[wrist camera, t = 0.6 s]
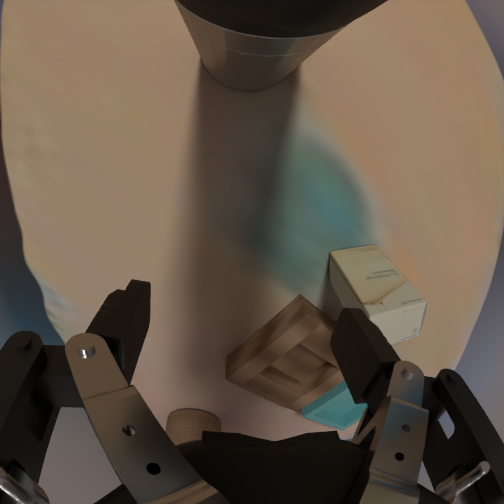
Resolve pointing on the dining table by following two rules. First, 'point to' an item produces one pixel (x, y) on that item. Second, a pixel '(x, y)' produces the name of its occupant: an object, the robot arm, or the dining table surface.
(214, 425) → the vase
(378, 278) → the skincare box
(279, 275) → the dining table surface
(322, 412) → the tray
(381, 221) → the dining table surface
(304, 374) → the wooden square frame
